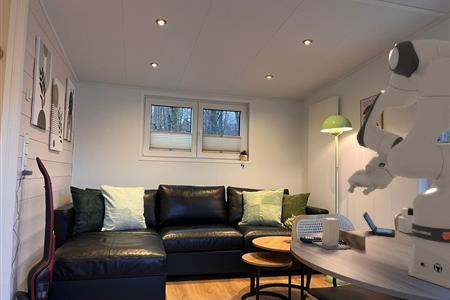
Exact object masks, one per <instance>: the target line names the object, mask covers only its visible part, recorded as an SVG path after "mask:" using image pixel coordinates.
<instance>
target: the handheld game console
mask: <svg viewBox="0 0 450 300" xmlns="http://www.w3.org/2000/svg"><path fill="white" fill-rule="evenodd" d="M362 216H363V218H364V220H365V221H366V223H367V225H368V227H369V228H370V230H371V233H372V234H371V235H373V236H382V237H390V238H394V237H395V235H396V230H395V229H390V228H383V227H382V228H381V227H378V226H377V225H375V223H374V222H373V220H372V218H371V216H370V215H369V213H368V212H367V211H366V212H364V213H363V215H362Z"/></svg>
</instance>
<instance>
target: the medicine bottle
mask: <svg viewBox="0 0 450 300" xmlns="http://www.w3.org/2000/svg"><path fill="white" fill-rule="evenodd" d="M397 217H398V218H397V219H398V222H397V223H398V227H397V228H398V231H399V232H401V233H405V234H412V230H411V228H412V223H413V207H403V208H401V215H400V216H397Z"/></svg>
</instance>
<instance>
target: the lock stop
mask: <svg viewBox="0 0 450 300" xmlns="http://www.w3.org/2000/svg"><path fill="white" fill-rule="evenodd" d="M321 220H322V221H321V222H322V224H321V225H322V226H321V227H322V230H321V231H322V232H321V234H322V235H321V237H322V240H321V241H322V243H324V244H326V245H328V246H334V245H339V243H340V242H339V228H340V226H339V225H340V219H338V218H334V217H322V219H321Z"/></svg>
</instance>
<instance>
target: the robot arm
mask: <svg viewBox="0 0 450 300" xmlns="http://www.w3.org/2000/svg"><path fill="white" fill-rule="evenodd" d="M388 57H389V58H388V66H389V67H388V68H389V69H390V71H391V72H392V73H391V76H390V79H389V83H388V86H386V89H384V90H381V91H380V92H378V94H377V95H376V96H375V98H374V99H373V101H372V103H371V106H370V107H369V109H368V112H367V115H366V117H365V118H364V120H363V123H362V125H361V126H360V128H359V130H358V132H357V134H356V141H357V143H358V145H359V146H361V147H363V148H365V149H369V150H371V151H373V152H375V153H376V155H375V156H373V157H371V159H370V160H369V161H368V162H367V164H366V165H365V169H358V170H356V171H355V172H354V173H352V175H351V176H350V177H348V179H347V182H348V184H349V185H350V186H349V188H348V189H347V192H348V193H349V194H353V193H354V192H355V189H356V188H365V189H364V190H363V191H362V194H363V195H365V196H369V195H370V193H372V192H374V191H375V190H384V189H386V188H388V186H390V184H391V182H393V180H394V179H395V178H396V177H397V176H398V177H401V178H407V179H416V180H417V179H418V180H419V179H420V180H432V183H431V186H430V187H429V188H428V189H427V190H424V191H422V192H420V193H418V194H417V195H416V196H415V197H414V199H413V202H412V208H413V223H412V228H411V230H412V233H411V235H412V245H411V250H410V251H411V252H410V259H409V262H408V265H407V275H409V276H411V277H414V278H418V279H420V280H423V281H425V282H428V283H431V284H435V285H438V286H441V287H444V288H447V289H450V143H448V142H447V143H445V142H444V143H443V142H439V143H438V141H439V138H440V136H441V135H443V134H444V133H445V132H447V131H450V40H445V39H428V38H427V39H418V40H404V41H399V42H398V43H396V44H394V46H393V47H392V48H391V49H390V53H389V56H388ZM415 103H416V107H415V113H414V114H415V116H414V121H413V124H412V127H411V128H410V130H409V132H408V134H406V136H405V137H404V138H403V136H401V135H399V134H397V133H395V132H391V131H388V130H386V129H383V128H381V127H379V126H378V124H377V123H378V120H379V119H380V117H381V115H382V114H383V110H387V109H388V110H389V109H391V110H392V109H397V110H398V109H405V108H408V107H410V106H412V105H413V106H414V104H415Z"/></svg>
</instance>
